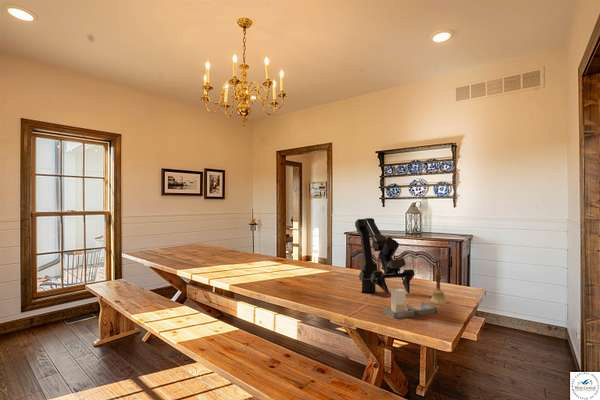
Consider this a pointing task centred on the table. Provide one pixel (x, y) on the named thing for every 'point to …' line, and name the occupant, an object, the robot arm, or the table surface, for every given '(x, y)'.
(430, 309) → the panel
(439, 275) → the hand bell
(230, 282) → the table surface
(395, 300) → the cream rectangular block
